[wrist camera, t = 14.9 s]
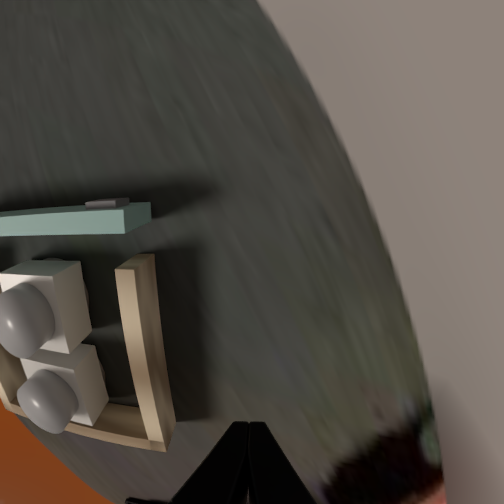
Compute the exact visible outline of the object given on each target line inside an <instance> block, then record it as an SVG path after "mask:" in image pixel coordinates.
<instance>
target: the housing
mask: <svg viewBox="0 0 504 504" xmlns="http://www.w3.org/2000/svg"><path fill="white" fill-rule="evenodd" d="M44 260H46V261H64V260H62V259H59V258H46V259H44ZM115 276H116V284H117V292H118V299H119V306H120V313H121V319H122V325H123V331H124V337H125V342H126V348H127V353H128V358H129V363H130V368H131V372H132V377H133V382H134V386H135V390H136V394H137V399H138V403H139V407H140V408H138V407H131V406H125V405H119V404H113V403H108V402H107V404H106V405H105V407H104V409H103V410H102V412H101V414H100V415H99V417H98V418H97V420H96V422H95V423H94V425H93V426H90V425H86V424H82V423H78V422H75V421H71V420H70V422H69V423H68V425H67V426H66V427H65V429H64V430H66V431H69V432H73V433H77V434H80V435H84V436H88V437H92V438H96V439H100V440H104V441H108V442H113V443H117V444H122V445H127V446H132V447H138V448H143V449H149V450H155V451H162V452H167V449H168V446H169V443H170V440H171V437H172V434H173V431H174V428H175V424H176V419H175V413H174V408H173V402H172V397H171V391H170V385H169V379H168V372H167V366H166V359H165V352H164V344H163V337H162V329H161V320H160V311H159V302H158V292H157V281H156V269H155V256H154V254H136V255H135V256H133V257H132V258H130V259H129V260H127V261H126V262H124V263H123V264H122V265H120V266H119V267H117V268H116V269H115ZM83 283H84V281H83ZM84 289H85V295H86V301H87V306H88V312H89V294H88V290H87V287H86V285H85V283H84ZM0 294H1V288H0ZM81 344H82V343H81ZM98 361H99V359H98ZM99 365H100V369H101V372H102V376H103V380H104V384H106V376H105V371H104V368H103V366H102V364H101V362H100V361H99ZM26 381H27V378H26V376H25V373H24V370H23V367H22V364H21V361H20V359H19V358H18V357H16V356H14V355H12V354H11V353H9V352H8V351H7V350H6V349H5V348H4V347H3V346H2V345H1V343H0V397H1V400H2V402H3V404H4V406H5V408H6V410H9V411H11V412H14V413H16V414H19V415H22V416H24V417H27V418H28V416H27V415H26V414H25V413H24V411H23V410H22V408H21V406H20V404H19V402H18V399H17V391H18V389H19V388H20V387H21V386H22V385H23V384H24V383H25V382H26Z"/></svg>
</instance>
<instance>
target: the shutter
mask: <svg viewBox="0 0 504 504" xmlns="http://www.w3.org/2000/svg"><path fill="white" fill-rule="evenodd" d="M85 204H86V205H79V206H64V207H51V208H38V209H26V210H15V211H5V212H0V236H24V235H66V234H125V233H127V232H129V231H131V230H134V229H136V228H138V227H140V226H142V225H144V224H147V223H149V222H151V202H138V203H129V198H111V199H99V200H94V201H89V202H85Z"/></svg>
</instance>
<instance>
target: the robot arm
mask: <svg viewBox="0 0 504 504" xmlns="http://www.w3.org/2000/svg"><path fill="white" fill-rule="evenodd" d="M248 491H249V502H250V504H317V503H316V502H315V500H314V499H313V497H312V496H311V494H310V493H309V491H308V490H307V488H306V487H305V485H304V484H303V482H302V481H301V479H300V478H299V476H298V475H297V473H296V471H295V470H294V468H293V467H292V465H291V464H290V462H289V461H288V459H287V457H286V456H285V454H284V453H283V451H282V449H281V448H280V446H279V445H278V443H277V441H276V440H275V438H274V436H273V435H272V433H271V432H270V430H269V428H268V427H267V425H266V423H265V422H250V423H248V422H246V421H234V422H233V423H232V424H231V425H230V427H229V428H228V429H227V431H226V432H225V433H224V435H223V436H222V437H221V439H220V440H219V441H218V442H217V444H216V445H215V446H214V448H213V449H212V450H211V451H210V453H209V454H208V455H207V456H206V458H205V459H204V460H203V461H202V463H201V464H200V465H199V466H198V468H197V469H196V470H195V471H194V473H193V474H192V475H191V476H190V477H189V479H188V480H187V481H186V482H185V484H184V485H183V486H182V487H181V488H180V489H179V491H178V492H177V493H176V494H175V495H174V497H173V498H172V499H171V502H168V503H167V504H246V501H247V494H248ZM125 503H126V504H153V503H148V502H143V501H138V500H133V499H129V498H127V499H126V501H125Z"/></svg>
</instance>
